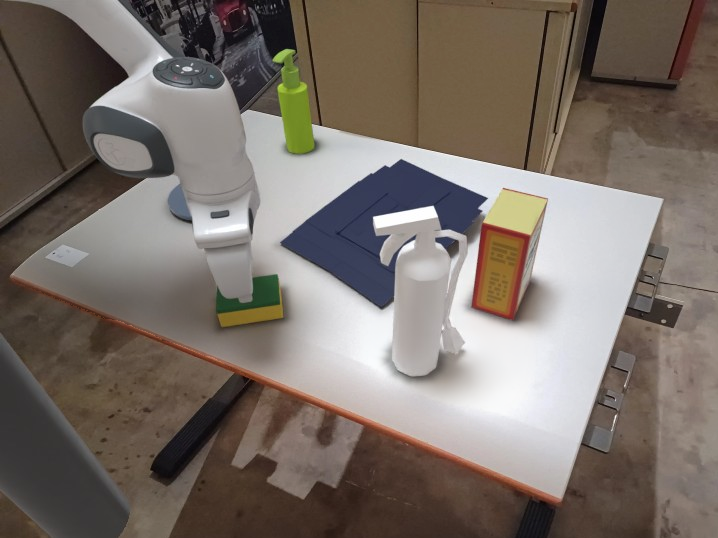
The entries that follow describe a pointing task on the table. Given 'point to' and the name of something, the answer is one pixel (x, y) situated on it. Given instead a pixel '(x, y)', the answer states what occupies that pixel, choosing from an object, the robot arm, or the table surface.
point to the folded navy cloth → (356, 231)
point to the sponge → (252, 303)
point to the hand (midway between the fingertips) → (245, 276)
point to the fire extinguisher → (420, 288)
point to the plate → (179, 203)
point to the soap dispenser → (294, 106)
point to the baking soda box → (507, 252)
